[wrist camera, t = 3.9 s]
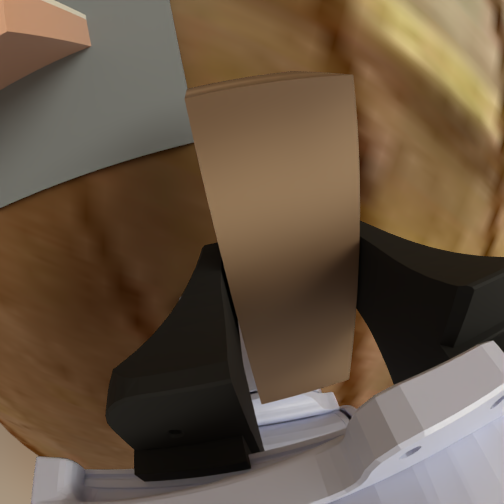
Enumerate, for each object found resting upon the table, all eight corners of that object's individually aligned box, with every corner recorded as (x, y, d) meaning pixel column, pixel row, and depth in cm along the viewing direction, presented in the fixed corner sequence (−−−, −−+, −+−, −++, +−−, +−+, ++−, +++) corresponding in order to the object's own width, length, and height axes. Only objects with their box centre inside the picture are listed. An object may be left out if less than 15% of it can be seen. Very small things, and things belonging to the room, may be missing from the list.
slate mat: (198, 138, 17) (198, 141, 17) (-41, 225, 16) (-45, 229, 16) (147, -132, 6) (146, -136, 6) (-87, -1, 5) (-91, -1, 5)
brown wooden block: (314, 308, 17) (348, 379, 13) (242, 326, 17) (261, 404, 13) (292, 71, 11) (353, 74, 7) (187, 89, 11) (184, 98, 6)
